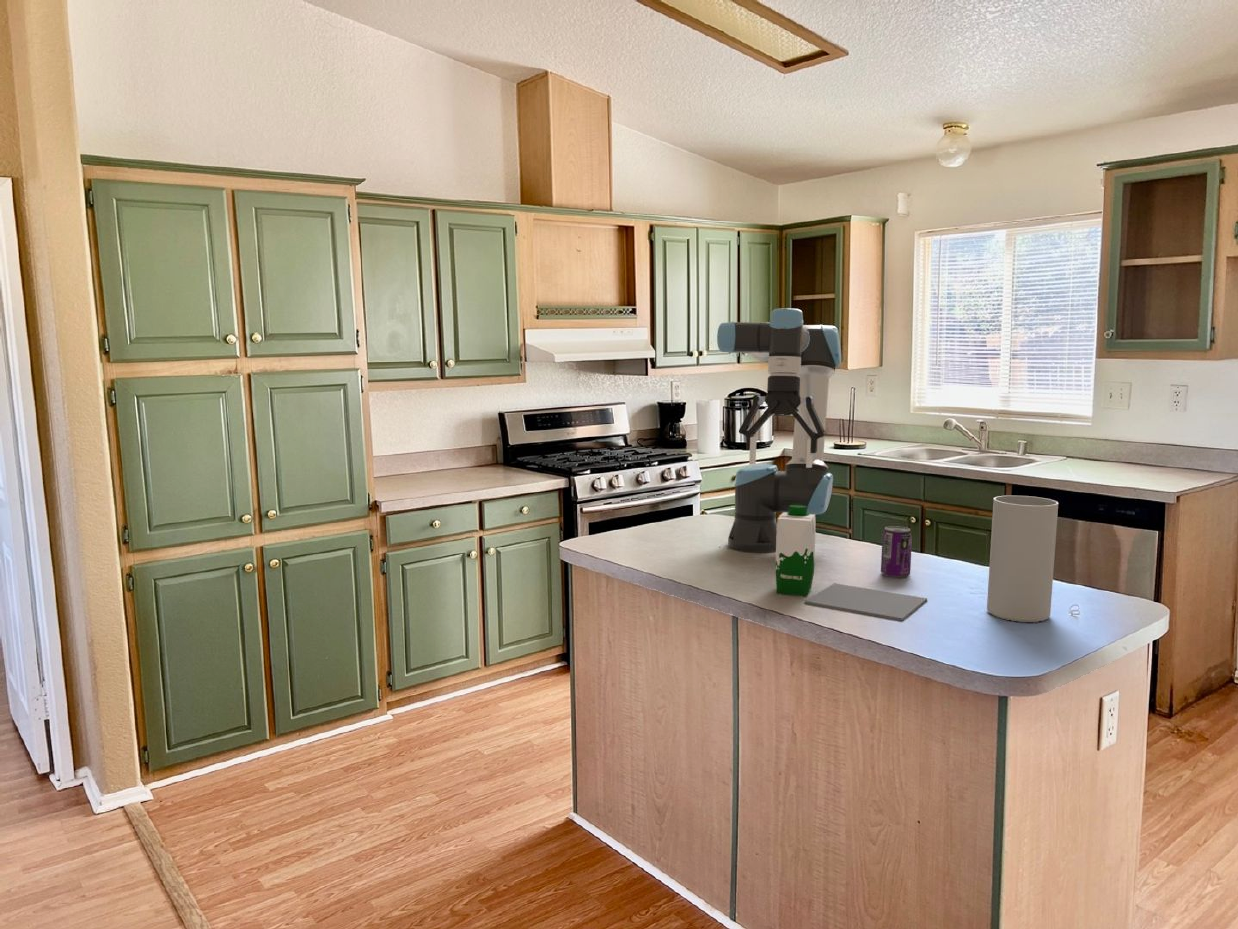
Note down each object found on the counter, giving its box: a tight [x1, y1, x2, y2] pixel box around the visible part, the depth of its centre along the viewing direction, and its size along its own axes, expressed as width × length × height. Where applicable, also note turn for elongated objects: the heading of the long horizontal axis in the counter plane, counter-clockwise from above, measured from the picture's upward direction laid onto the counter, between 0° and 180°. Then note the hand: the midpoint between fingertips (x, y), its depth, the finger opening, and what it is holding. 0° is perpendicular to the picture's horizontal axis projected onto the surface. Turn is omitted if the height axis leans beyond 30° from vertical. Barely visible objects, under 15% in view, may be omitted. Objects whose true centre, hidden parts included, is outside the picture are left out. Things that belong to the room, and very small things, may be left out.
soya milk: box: [775, 505, 816, 597], centre depth 209 cm, size 9×9×20 cm
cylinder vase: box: [986, 495, 1059, 623], centre depth 191 cm, size 12×12×25 cm
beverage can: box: [880, 525, 913, 579], centre depth 224 cm, size 7×7×12 cm
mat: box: [803, 583, 928, 622], centre depth 201 cm, size 22×18×1 cm
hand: (780, 466), depth 211 cm, fingers open, 13 cm apart
